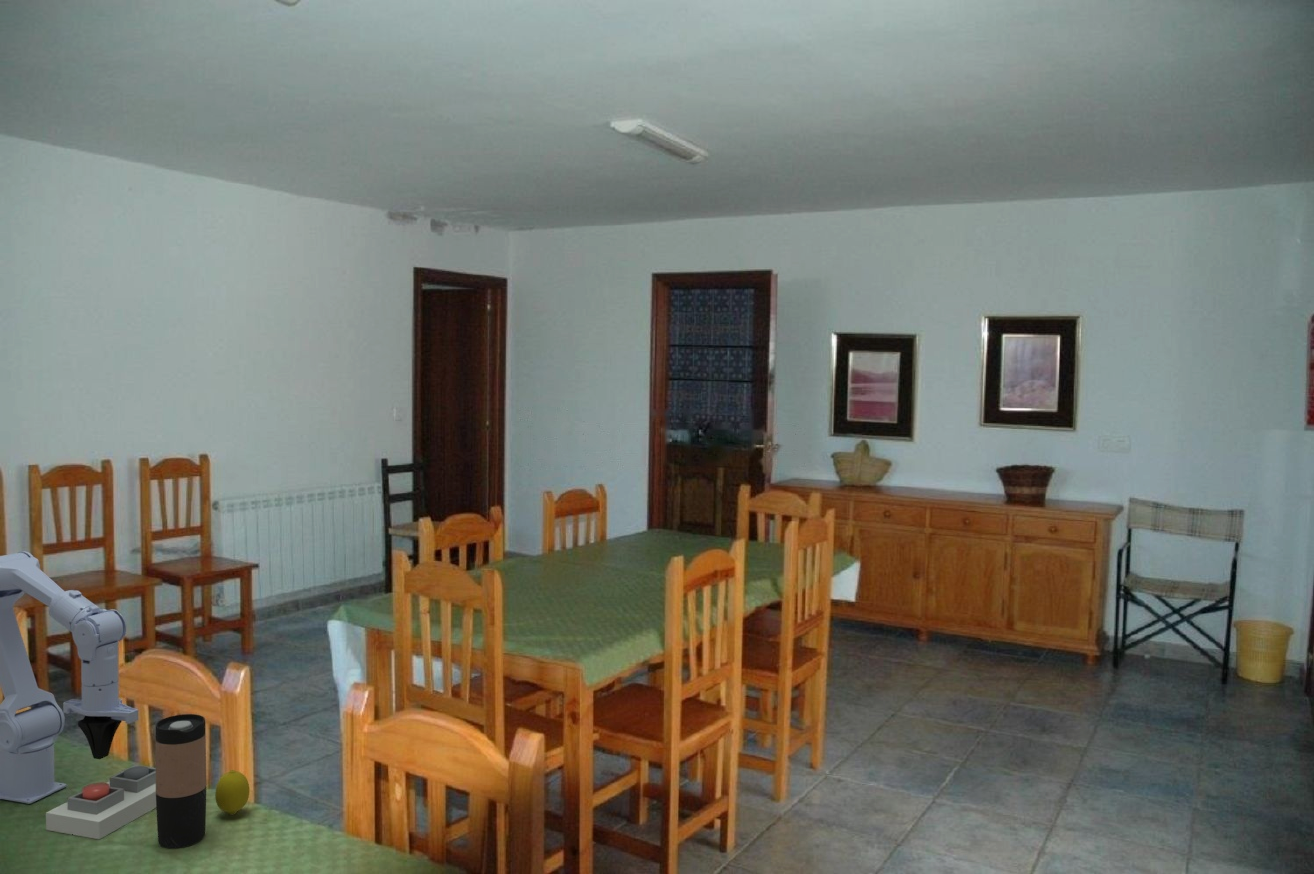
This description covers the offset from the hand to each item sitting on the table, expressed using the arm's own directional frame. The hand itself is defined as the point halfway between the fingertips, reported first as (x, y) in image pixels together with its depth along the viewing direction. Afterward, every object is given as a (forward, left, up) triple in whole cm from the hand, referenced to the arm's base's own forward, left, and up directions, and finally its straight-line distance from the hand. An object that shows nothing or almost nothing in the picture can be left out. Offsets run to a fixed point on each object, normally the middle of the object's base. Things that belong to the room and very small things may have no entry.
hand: (101, 756), depth 175 cm
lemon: (+23, +6, -10) cm, 25 cm away
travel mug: (+21, -4, -10) cm, 23 cm away
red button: (+3, -4, -6) cm, 7 cm away
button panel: (+3, +1, -10) cm, 10 cm away
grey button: (+3, +5, -6) cm, 8 cm away
